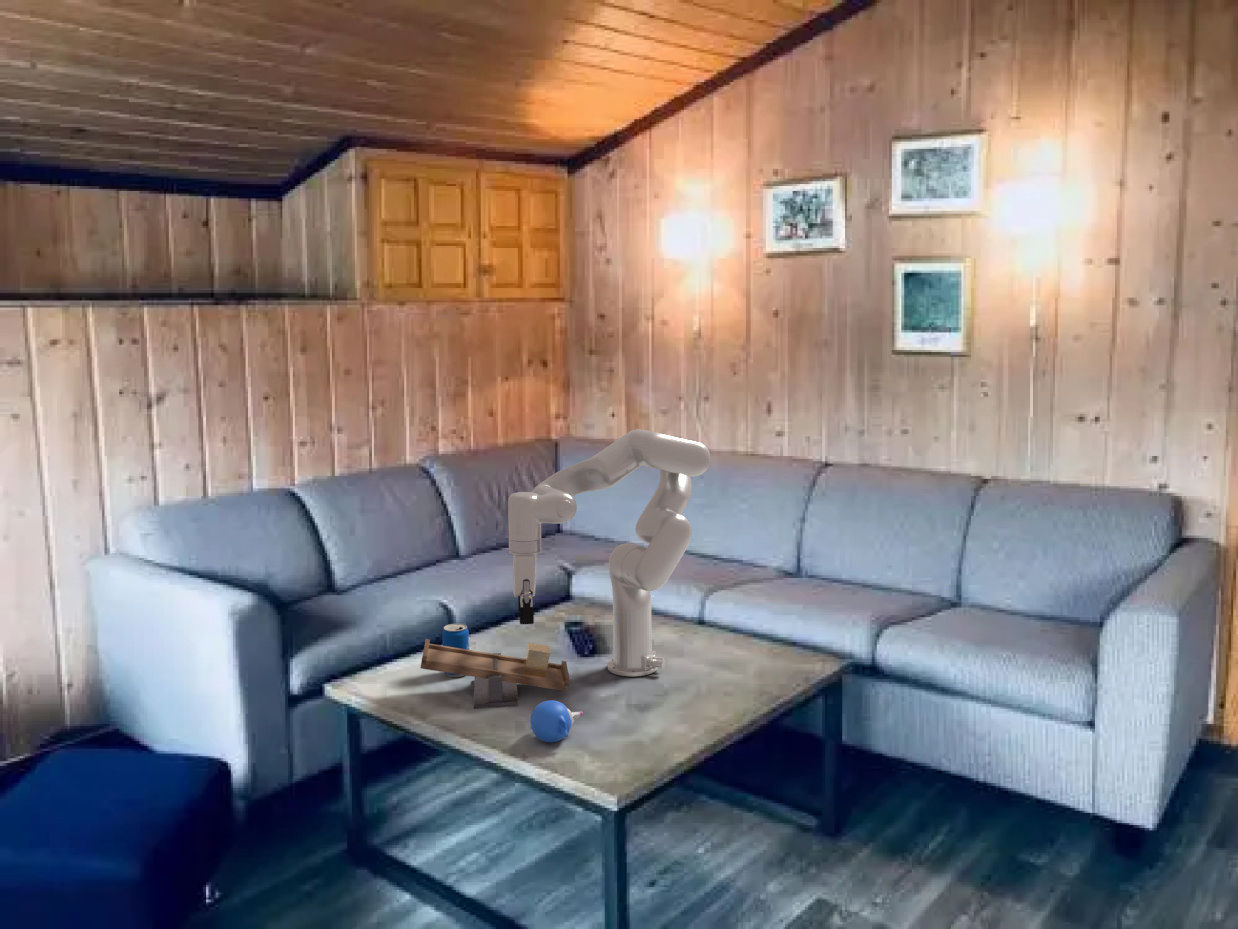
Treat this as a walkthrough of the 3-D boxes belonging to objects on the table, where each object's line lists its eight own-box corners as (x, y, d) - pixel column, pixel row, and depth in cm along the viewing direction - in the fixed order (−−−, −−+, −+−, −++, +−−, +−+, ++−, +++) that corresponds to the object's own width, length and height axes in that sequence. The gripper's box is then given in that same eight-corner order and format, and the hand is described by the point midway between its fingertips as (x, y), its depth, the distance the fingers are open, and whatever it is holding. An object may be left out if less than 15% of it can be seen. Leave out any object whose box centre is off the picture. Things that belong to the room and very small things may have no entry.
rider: (544, 670, 251) (548, 646, 251) (545, 677, 247) (550, 653, 246) (523, 666, 251) (528, 642, 250) (524, 674, 246) (529, 649, 245)
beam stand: (516, 678, 258) (515, 651, 257) (518, 706, 240) (517, 677, 239) (474, 680, 257) (473, 653, 255) (473, 708, 239) (472, 680, 238)
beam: (563, 673, 256) (565, 660, 256) (567, 693, 244) (569, 680, 243) (423, 650, 251) (425, 638, 251) (419, 670, 238) (422, 656, 238)
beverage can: (465, 679, 257) (463, 631, 255) (439, 677, 259) (438, 630, 257) (473, 670, 264) (472, 623, 262) (449, 668, 265) (447, 622, 263)
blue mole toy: (597, 741, 220) (596, 703, 219) (547, 755, 214) (546, 716, 213) (569, 722, 231) (568, 685, 229) (520, 735, 224) (519, 697, 223)
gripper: (508, 538, 252) (509, 607, 254) (509, 555, 235) (510, 629, 237) (539, 537, 252) (540, 606, 255) (543, 554, 236) (544, 628, 238)
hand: (526, 617), depth 246 cm, fingers open, 9 cm apart
